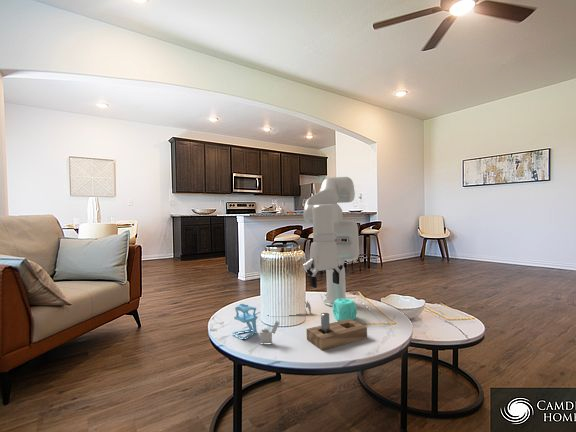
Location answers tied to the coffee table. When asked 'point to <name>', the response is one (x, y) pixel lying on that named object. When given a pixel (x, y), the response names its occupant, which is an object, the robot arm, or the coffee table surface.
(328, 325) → the peg
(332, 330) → the hole block
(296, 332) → the coffee table surface
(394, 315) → the coffee table surface
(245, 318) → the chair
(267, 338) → the lighter
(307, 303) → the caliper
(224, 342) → the coffee table surface
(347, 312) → the decorative dice
